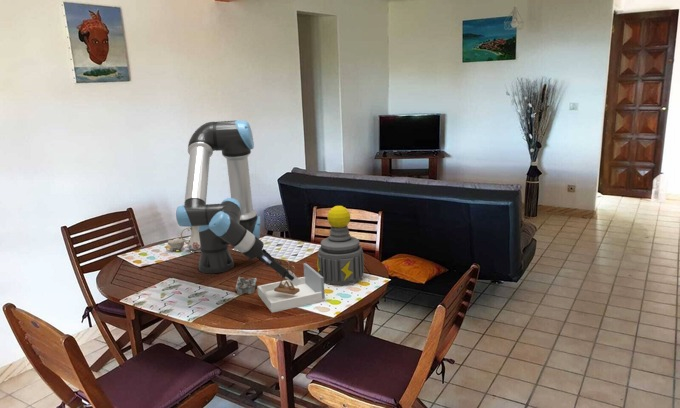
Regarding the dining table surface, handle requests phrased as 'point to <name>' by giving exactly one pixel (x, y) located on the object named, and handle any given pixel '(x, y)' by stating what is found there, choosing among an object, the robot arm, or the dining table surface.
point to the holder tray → (308, 293)
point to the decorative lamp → (340, 251)
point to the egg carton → (245, 285)
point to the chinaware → (187, 241)
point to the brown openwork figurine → (284, 288)
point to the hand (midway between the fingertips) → (295, 280)
